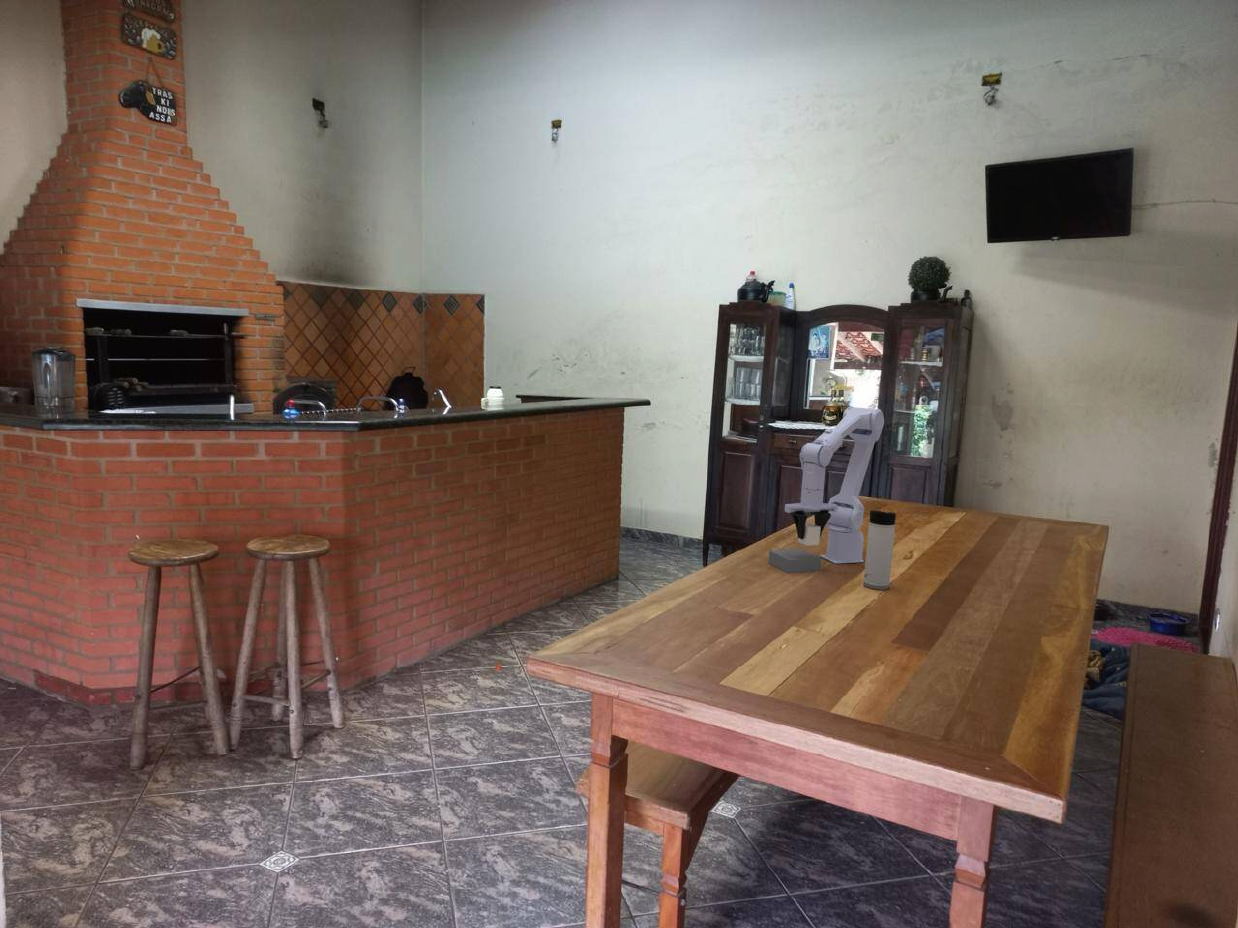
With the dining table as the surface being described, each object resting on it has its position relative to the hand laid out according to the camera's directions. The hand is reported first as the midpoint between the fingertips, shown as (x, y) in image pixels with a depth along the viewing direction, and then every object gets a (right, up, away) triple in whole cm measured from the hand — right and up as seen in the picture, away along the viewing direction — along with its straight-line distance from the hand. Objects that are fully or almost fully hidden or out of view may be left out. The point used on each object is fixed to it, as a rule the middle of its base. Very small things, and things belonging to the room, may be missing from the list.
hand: (808, 538), depth 208 cm
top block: (0, -1, 0) cm, 1 cm away
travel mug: (+14, -12, -11) cm, 21 cm away
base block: (-3, -9, +4) cm, 10 cm away
